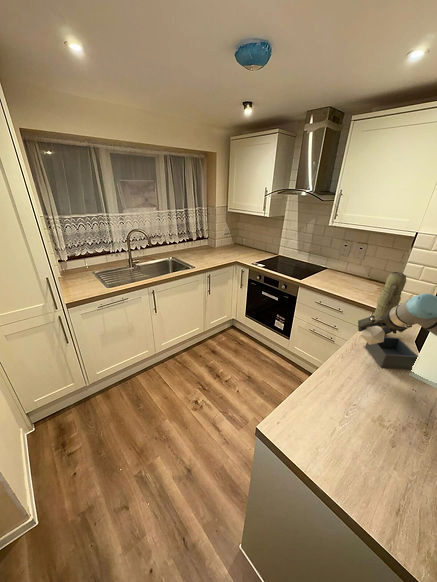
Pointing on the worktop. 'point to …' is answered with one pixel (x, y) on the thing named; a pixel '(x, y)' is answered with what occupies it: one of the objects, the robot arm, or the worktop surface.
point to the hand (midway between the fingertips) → (371, 330)
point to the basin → (392, 353)
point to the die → (373, 335)
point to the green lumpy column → (390, 294)
